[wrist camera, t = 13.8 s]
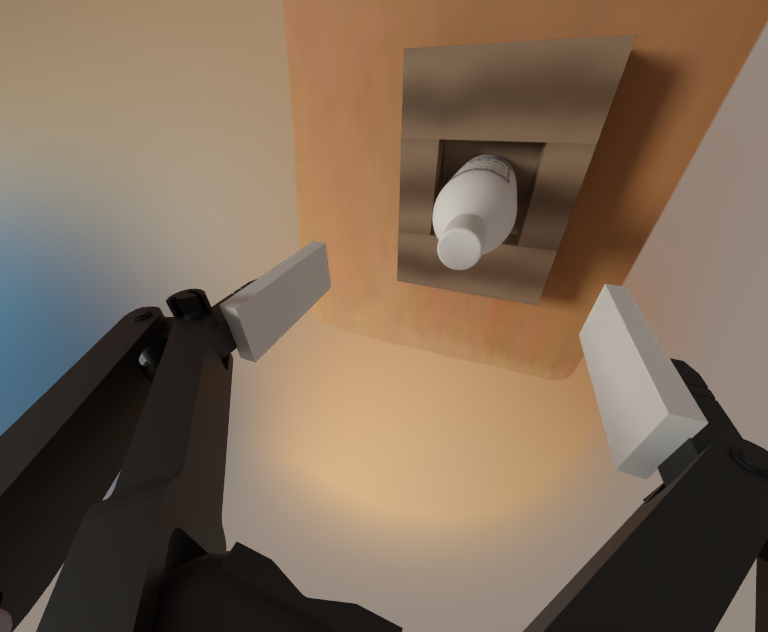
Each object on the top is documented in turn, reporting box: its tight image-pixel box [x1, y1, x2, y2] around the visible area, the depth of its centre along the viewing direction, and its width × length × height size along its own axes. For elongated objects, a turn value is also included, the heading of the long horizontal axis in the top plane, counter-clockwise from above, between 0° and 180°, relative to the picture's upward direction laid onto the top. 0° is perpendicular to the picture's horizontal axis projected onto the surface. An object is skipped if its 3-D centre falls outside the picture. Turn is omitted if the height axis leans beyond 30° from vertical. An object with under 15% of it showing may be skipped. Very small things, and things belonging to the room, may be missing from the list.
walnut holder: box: [397, 35, 637, 305], centre depth 33 cm, size 24×18×5 cm
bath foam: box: [432, 155, 518, 270], centre depth 26 cm, size 7×7×20 cm
